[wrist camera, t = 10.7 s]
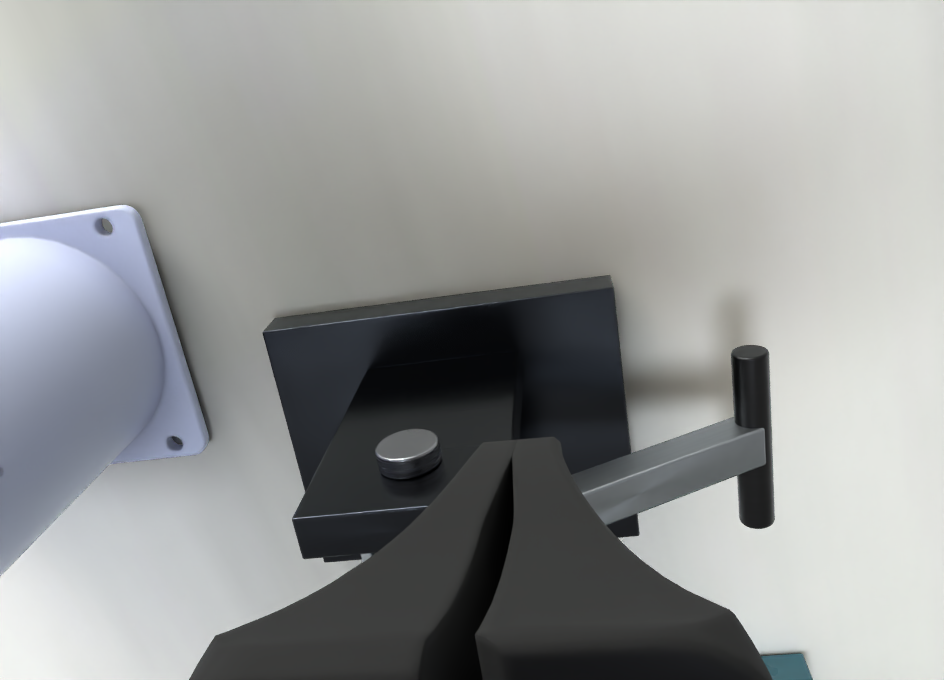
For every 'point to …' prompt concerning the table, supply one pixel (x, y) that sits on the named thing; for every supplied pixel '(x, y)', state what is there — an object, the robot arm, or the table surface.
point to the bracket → (441, 399)
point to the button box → (787, 667)
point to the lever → (698, 457)
